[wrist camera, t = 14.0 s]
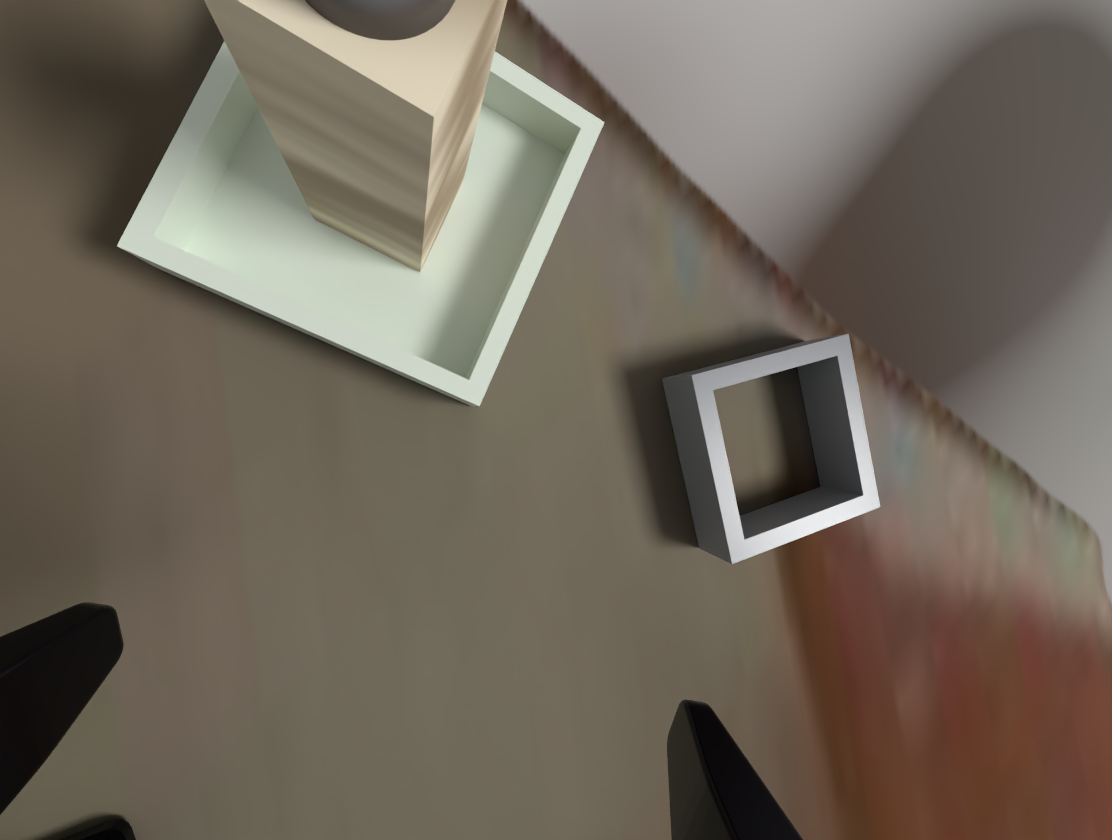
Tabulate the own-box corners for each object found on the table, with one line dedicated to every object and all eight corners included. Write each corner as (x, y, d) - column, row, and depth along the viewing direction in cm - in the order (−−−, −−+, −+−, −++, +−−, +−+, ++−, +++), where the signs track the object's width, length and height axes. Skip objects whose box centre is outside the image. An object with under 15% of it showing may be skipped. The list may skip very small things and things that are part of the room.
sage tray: (471, 406, 20) (479, 406, 18) (157, 268, 17) (116, 246, 15) (582, 154, 21) (604, 122, 19) (304, -19, 18) (288, -82, 16)
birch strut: (420, 272, 19) (437, 74, 8) (314, 219, 18) (152, -103, 7) (463, 180, 20) (540, -142, 8) (361, 122, 19) (285, -341, 7)
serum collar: (699, 547, 24) (732, 564, 21) (661, 378, 23) (691, 375, 20) (836, 497, 26) (880, 507, 23) (805, 340, 25) (848, 333, 22)
